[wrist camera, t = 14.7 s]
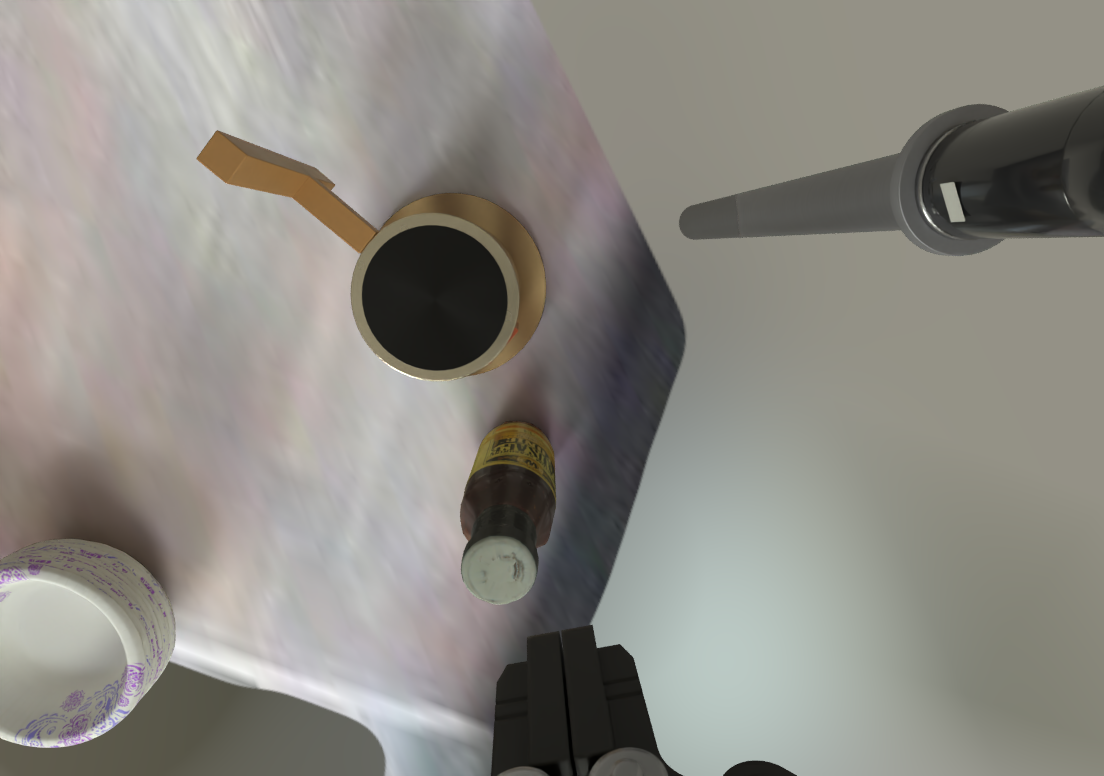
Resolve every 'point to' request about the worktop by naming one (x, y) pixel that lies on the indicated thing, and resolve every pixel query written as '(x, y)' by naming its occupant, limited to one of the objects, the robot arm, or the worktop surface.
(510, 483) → the sauce bottle
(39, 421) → the worktop surface
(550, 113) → the worktop surface
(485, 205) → the turntable
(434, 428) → the worktop surface
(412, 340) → the flanged cylinder with handle
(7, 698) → the white purple floral bowl
